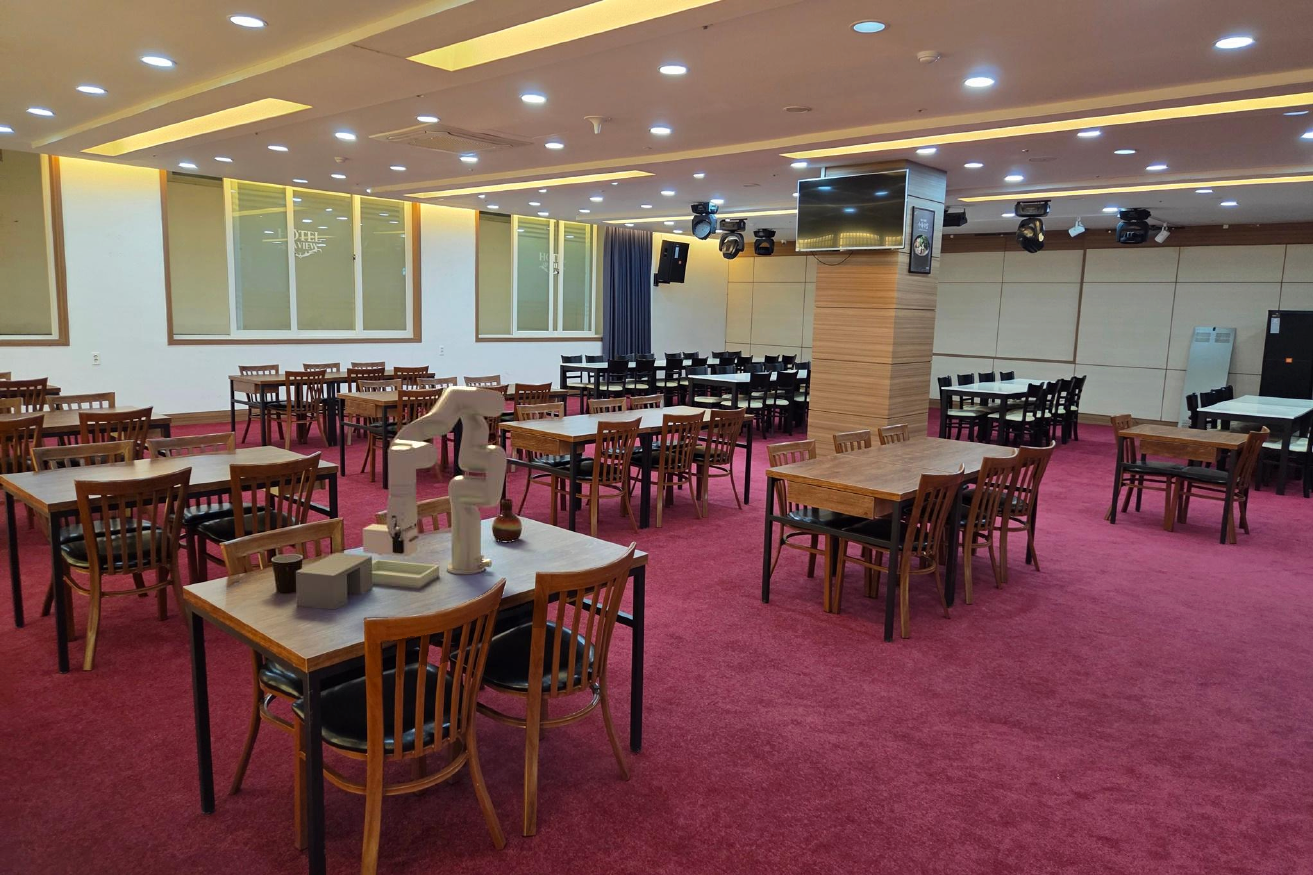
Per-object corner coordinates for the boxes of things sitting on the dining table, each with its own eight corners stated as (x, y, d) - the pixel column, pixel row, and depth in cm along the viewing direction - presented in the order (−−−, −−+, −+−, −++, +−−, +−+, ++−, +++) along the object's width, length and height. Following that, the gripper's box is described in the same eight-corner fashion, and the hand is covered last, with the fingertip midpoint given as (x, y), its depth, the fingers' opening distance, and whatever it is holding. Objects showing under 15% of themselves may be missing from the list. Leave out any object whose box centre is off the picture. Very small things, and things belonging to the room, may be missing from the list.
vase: (496, 535, 319) (497, 495, 317) (525, 536, 318) (525, 497, 316) (488, 542, 308) (488, 502, 306) (517, 544, 307) (517, 504, 305)
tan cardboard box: (419, 551, 242) (419, 528, 241) (410, 556, 237) (410, 533, 236) (373, 546, 245) (372, 524, 244) (363, 552, 239) (362, 528, 238)
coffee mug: (281, 584, 254) (280, 553, 253) (308, 586, 254) (307, 554, 253) (262, 597, 243) (260, 564, 241) (291, 598, 243) (290, 566, 241)
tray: (439, 576, 268) (439, 565, 267) (419, 588, 255) (419, 577, 255) (377, 569, 272) (377, 559, 272) (355, 581, 260) (355, 570, 259)
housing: (372, 587, 255) (371, 556, 253) (334, 609, 235) (333, 575, 234) (337, 583, 257) (336, 552, 256) (296, 605, 238) (295, 571, 236)
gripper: (405, 481, 246) (406, 540, 249) (374, 494, 229) (376, 557, 232) (428, 483, 244) (429, 542, 247) (399, 496, 228) (400, 559, 231)
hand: (403, 549), depth 240 cm, fingers closed on tan cardboard box, 5 cm apart
